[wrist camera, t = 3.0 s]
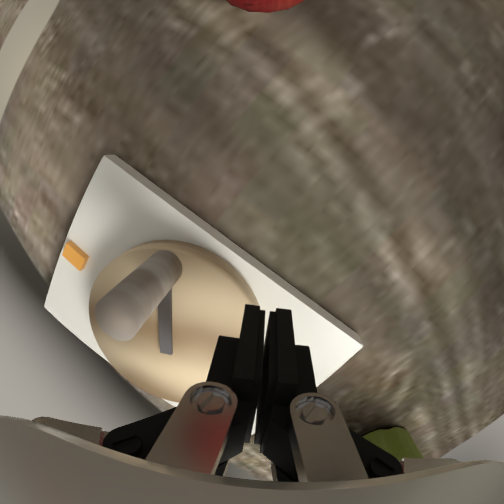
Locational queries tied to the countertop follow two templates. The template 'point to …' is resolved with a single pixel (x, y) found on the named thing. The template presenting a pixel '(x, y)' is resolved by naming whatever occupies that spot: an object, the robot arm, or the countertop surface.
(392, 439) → the plant pot
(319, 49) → the countertop surface
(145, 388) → the capstan dial
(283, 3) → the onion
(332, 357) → the stand
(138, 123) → the countertop surface
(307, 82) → the countertop surface
